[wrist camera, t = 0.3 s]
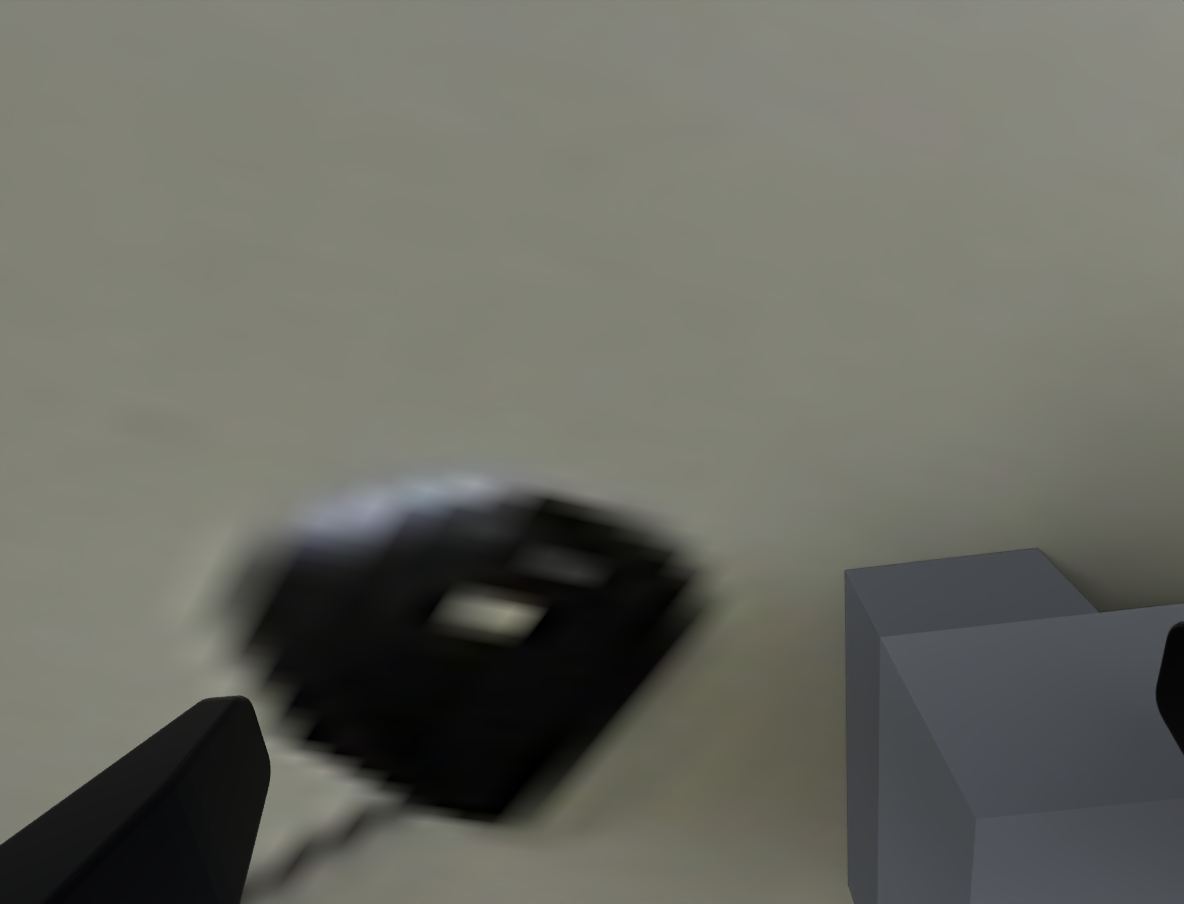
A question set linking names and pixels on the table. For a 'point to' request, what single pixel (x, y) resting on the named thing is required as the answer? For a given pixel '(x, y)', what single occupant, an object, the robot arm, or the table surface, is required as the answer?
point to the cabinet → (1006, 739)
